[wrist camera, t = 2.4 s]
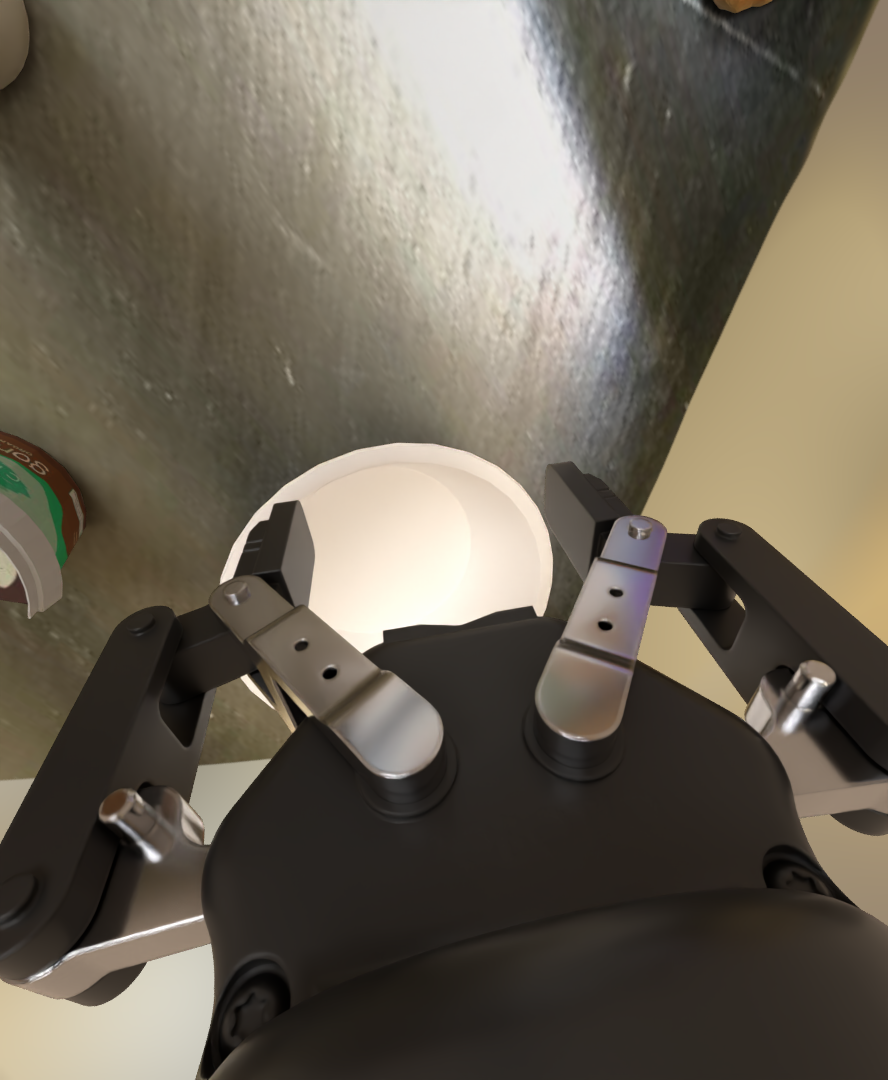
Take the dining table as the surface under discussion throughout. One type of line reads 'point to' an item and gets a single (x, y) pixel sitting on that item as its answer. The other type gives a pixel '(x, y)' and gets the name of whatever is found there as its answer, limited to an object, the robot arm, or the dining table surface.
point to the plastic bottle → (12, 40)
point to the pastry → (739, 4)
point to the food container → (35, 523)
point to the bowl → (414, 541)
